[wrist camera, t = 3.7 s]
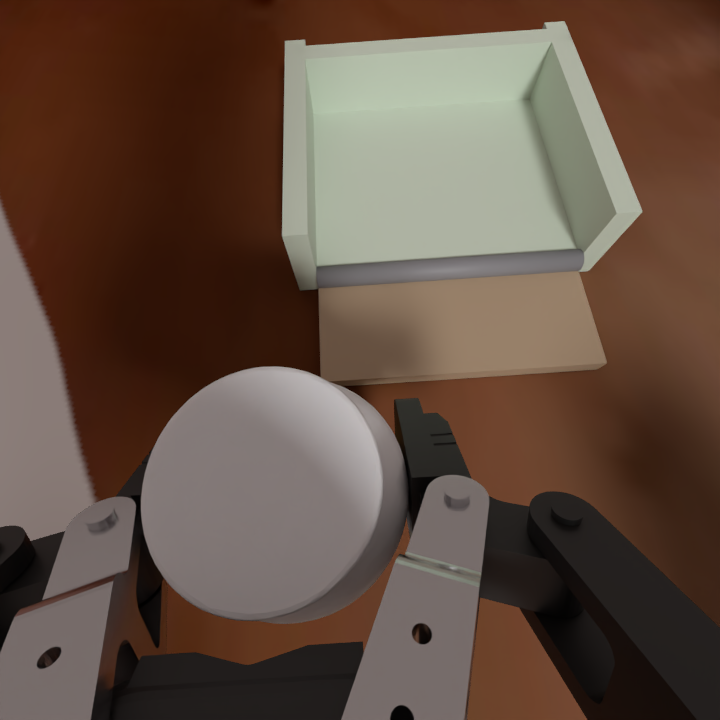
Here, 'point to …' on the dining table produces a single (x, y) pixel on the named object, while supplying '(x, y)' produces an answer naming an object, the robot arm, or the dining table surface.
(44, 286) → the dining table surface
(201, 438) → the supplement bottle
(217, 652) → the dining table surface
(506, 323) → the tray
